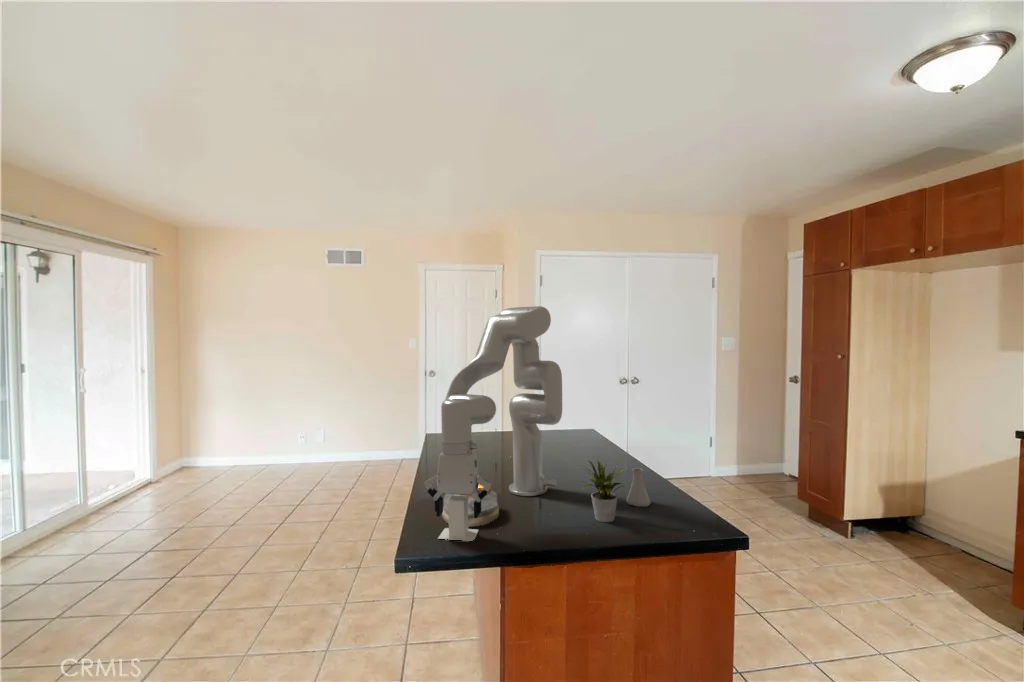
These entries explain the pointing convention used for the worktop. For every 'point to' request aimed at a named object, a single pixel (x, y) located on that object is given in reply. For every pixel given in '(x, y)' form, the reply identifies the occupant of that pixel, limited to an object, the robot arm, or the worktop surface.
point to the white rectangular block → (458, 516)
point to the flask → (638, 490)
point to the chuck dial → (486, 503)
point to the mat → (469, 537)
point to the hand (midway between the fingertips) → (458, 515)
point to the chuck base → (476, 521)
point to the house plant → (603, 493)
